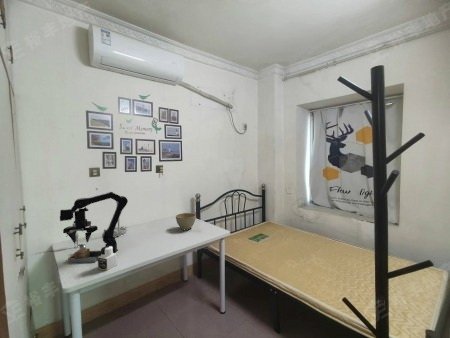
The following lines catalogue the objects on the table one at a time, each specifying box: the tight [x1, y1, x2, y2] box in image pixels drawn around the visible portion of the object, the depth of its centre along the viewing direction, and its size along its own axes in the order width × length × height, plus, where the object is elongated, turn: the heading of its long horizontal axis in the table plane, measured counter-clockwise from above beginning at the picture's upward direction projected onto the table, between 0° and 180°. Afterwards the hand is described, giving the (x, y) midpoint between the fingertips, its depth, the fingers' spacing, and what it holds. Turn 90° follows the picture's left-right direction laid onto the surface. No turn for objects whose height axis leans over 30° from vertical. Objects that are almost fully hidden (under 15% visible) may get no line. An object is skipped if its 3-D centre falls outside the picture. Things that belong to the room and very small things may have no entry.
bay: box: [67, 244, 101, 264], centre depth 145 cm, size 20×17×6 cm
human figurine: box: [65, 222, 86, 249], centre depth 161 cm, size 12×4×18 cm, turn 145°
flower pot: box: [175, 212, 197, 230], centre depth 200 cm, size 18×18×12 cm
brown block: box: [73, 248, 91, 258], centre depth 142 cm, size 6×6×5 cm
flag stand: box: [113, 201, 128, 237], centre depth 186 cm, size 13×13×30 cm
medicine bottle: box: [97, 245, 118, 271], centre depth 130 cm, size 7×7×12 cm
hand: (81, 242), depth 142 cm, fingers open, 8 cm apart
